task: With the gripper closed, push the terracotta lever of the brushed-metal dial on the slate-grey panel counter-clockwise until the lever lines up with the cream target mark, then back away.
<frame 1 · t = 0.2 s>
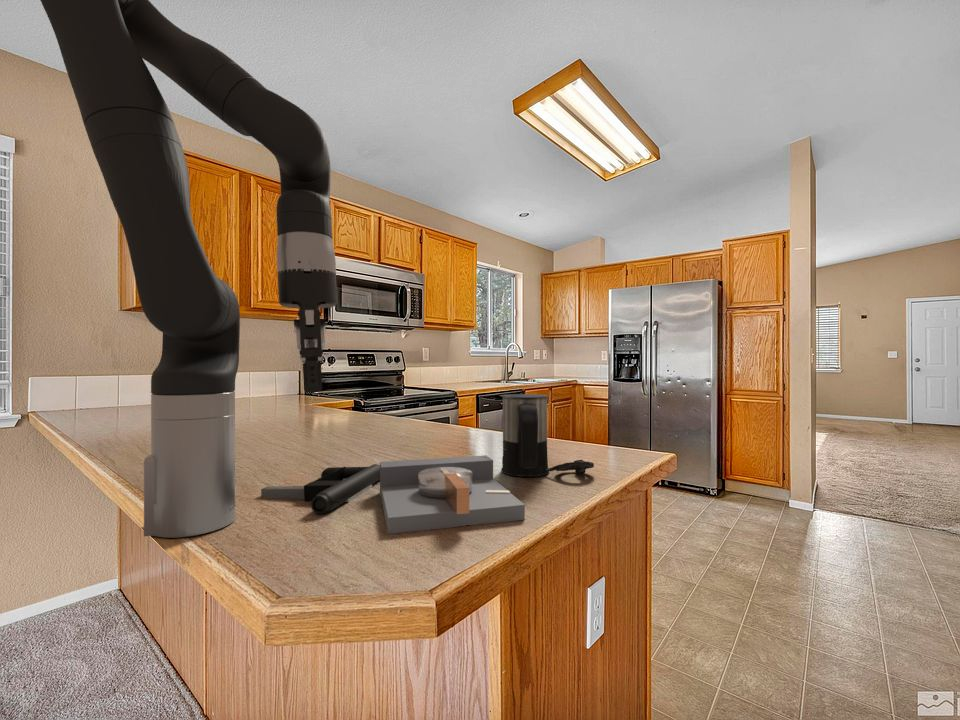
hand: (313, 389, 62), 17 cm above the table, tool pointing down, fingers open, 8 cm apart
door handle: (321, 496, 73), on the table
dial: (450, 484, 63), point 4 cm above the table, hinge at 0.0°
panel: (445, 504, 66), on the table
milk frother: (546, 474, 85), on the table
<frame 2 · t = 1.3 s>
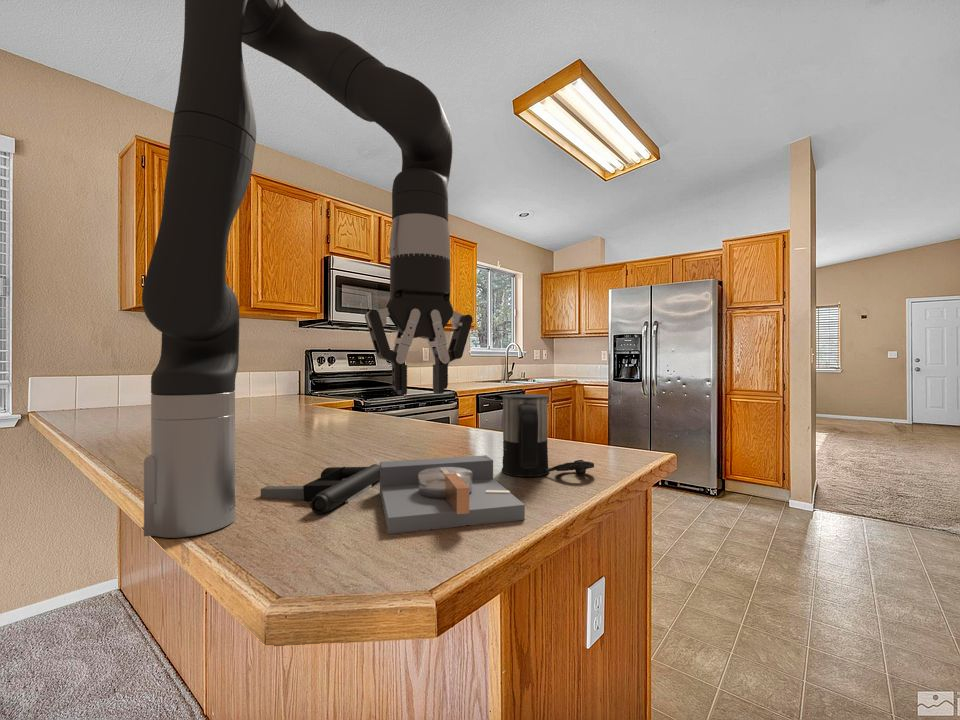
hand: (420, 393, 56), 17 cm above the table, tool pointing down, fingers open, 4 cm apart
nothing on the table moved.
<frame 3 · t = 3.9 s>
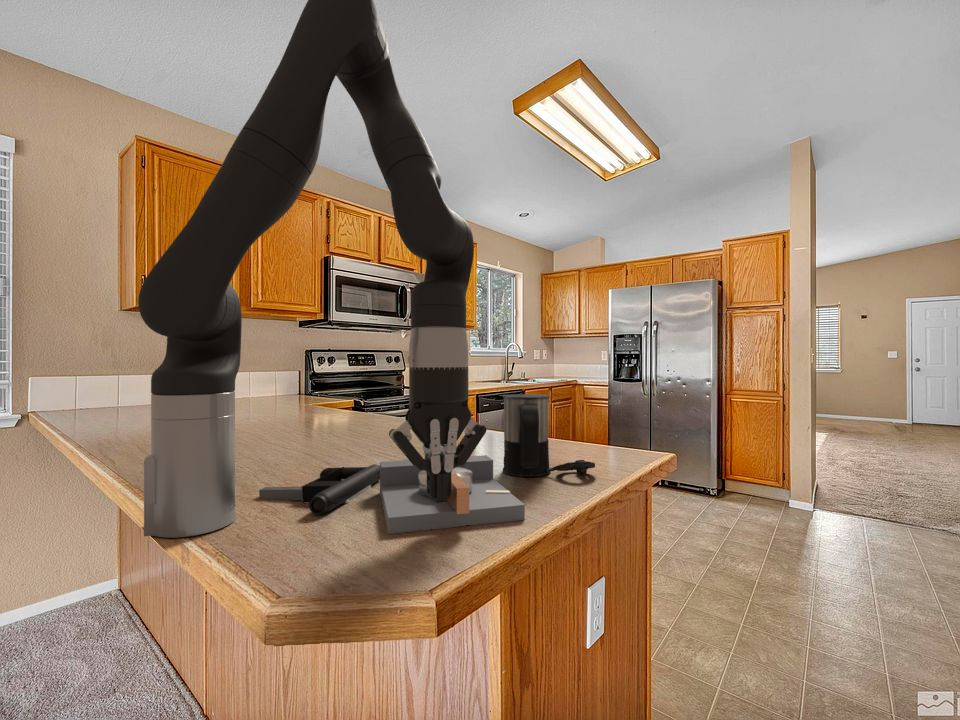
hand: (439, 500, 57), 4 cm above the table, tool pointing down, fingers closed
dial: (450, 484, 63), point 4 cm above the table, hinge at 0.0°, touching gripper
everything else where it was.
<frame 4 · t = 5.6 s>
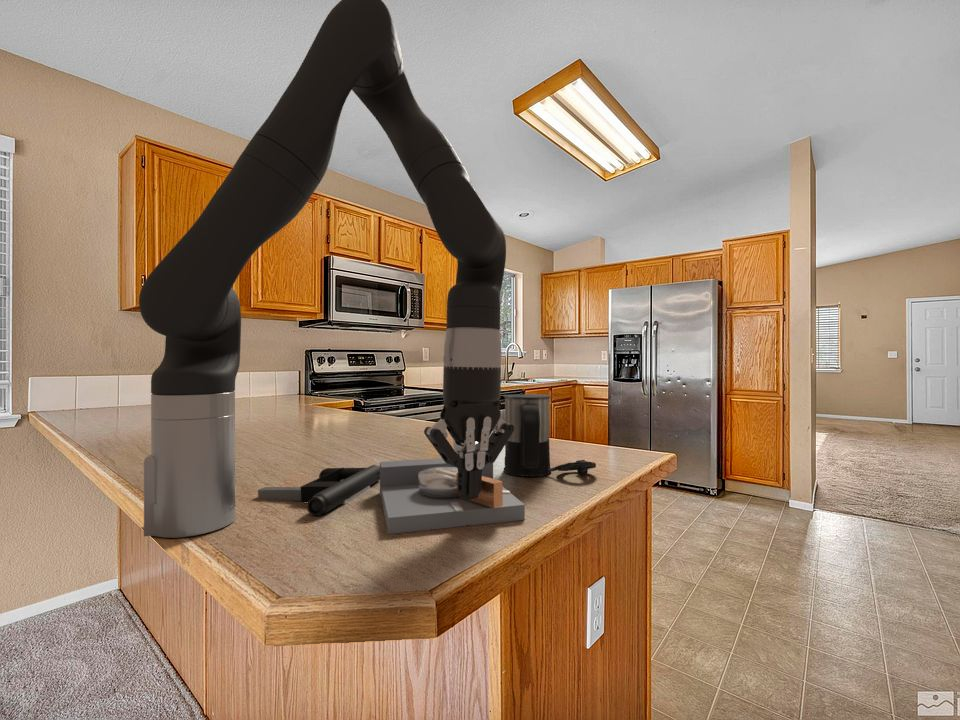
hand: (469, 497, 58), 4 cm above the table, tool pointing down, fingers closed
dial: (460, 483, 64), point 4 cm above the table, hinge at 27.2°, touching gripper
everything else where it was.
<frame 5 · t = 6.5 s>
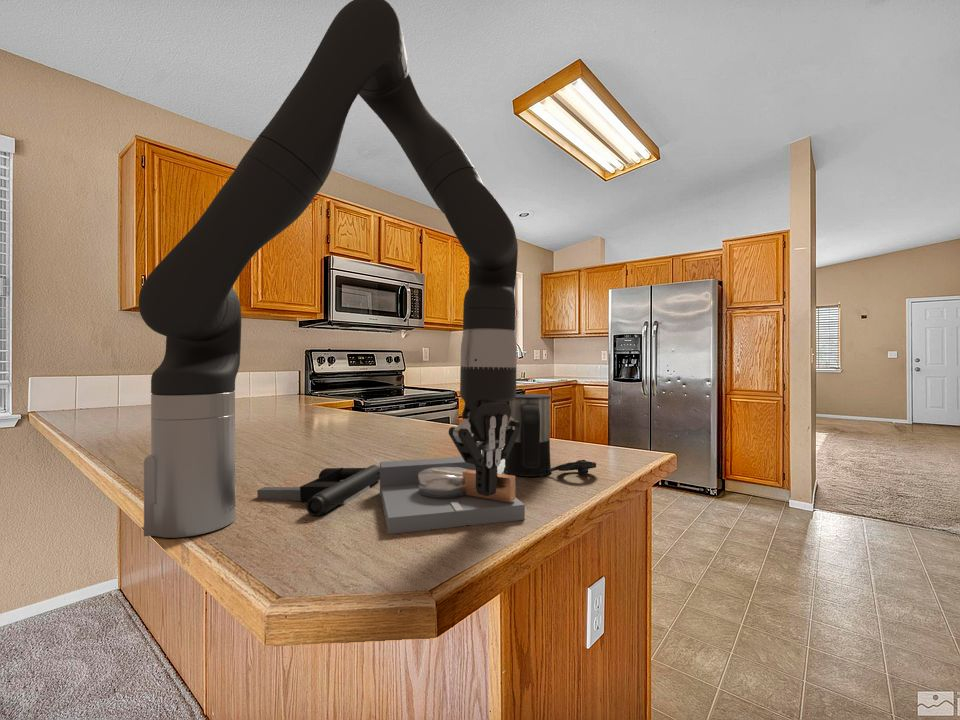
hand: (486, 493, 60), 4 cm above the table, tool pointing down, fingers closed
dial: (465, 481, 65), point 4 cm above the table, hinge at 45.0°, touching gripper
everything else where it was.
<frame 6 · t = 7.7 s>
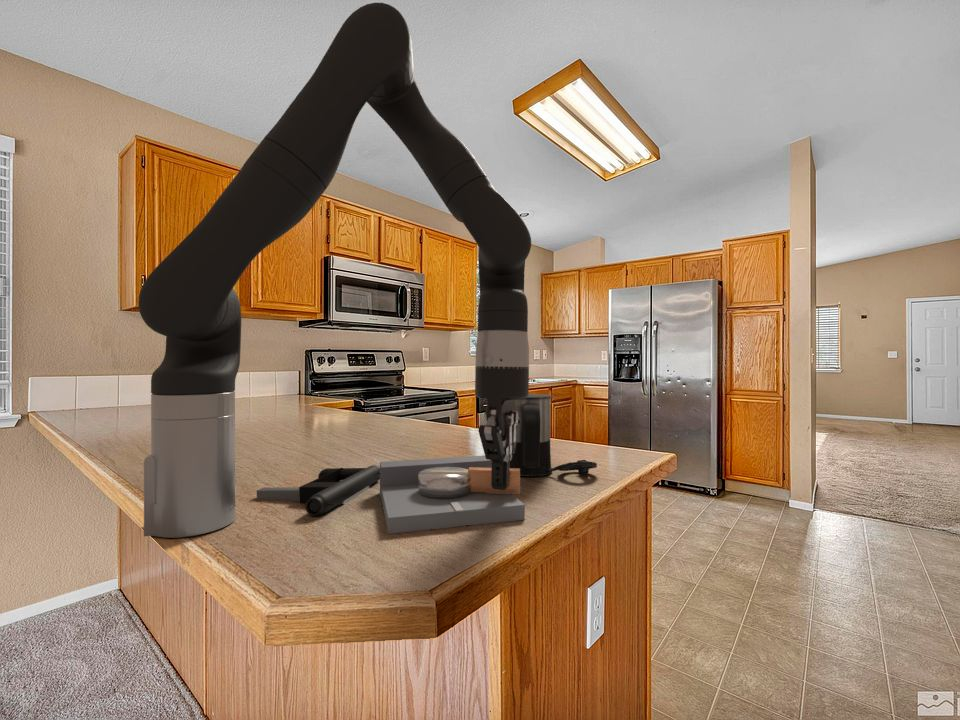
hand: (500, 488, 63), 4 cm above the table, tool pointing down, fingers closed
dial: (468, 479, 66), point 4 cm above the table, hinge at 67.4°, touching gripper
everything else where it was.
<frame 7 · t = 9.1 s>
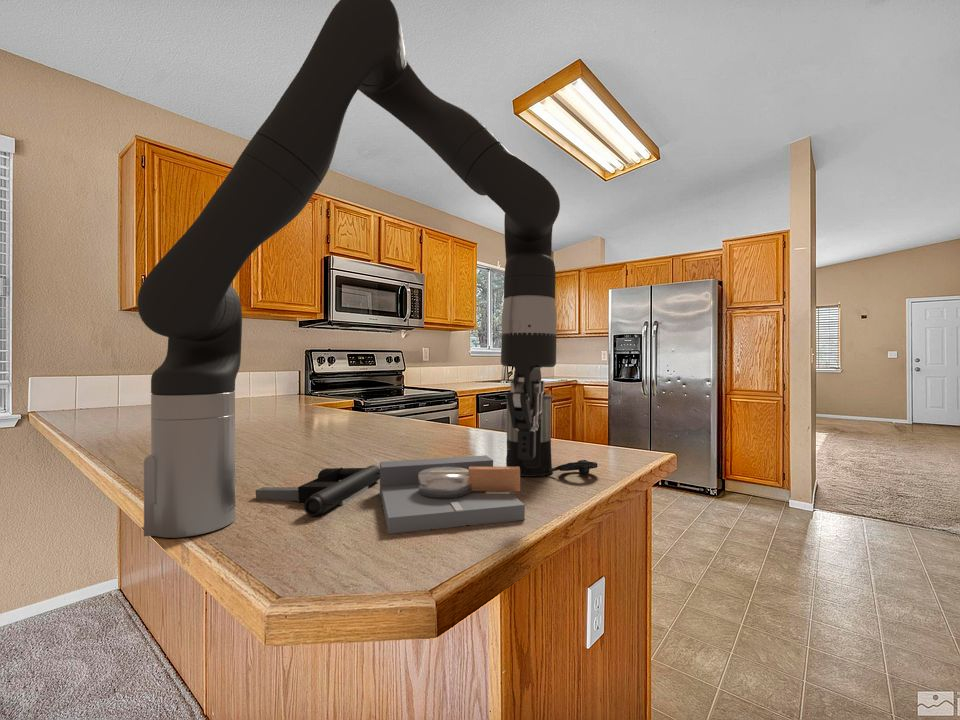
hand: (526, 458, 61), 8 cm above the table, tool pointing down, fingers closed
dial: (469, 478, 66), point 4 cm above the table, hinge at 73.4°
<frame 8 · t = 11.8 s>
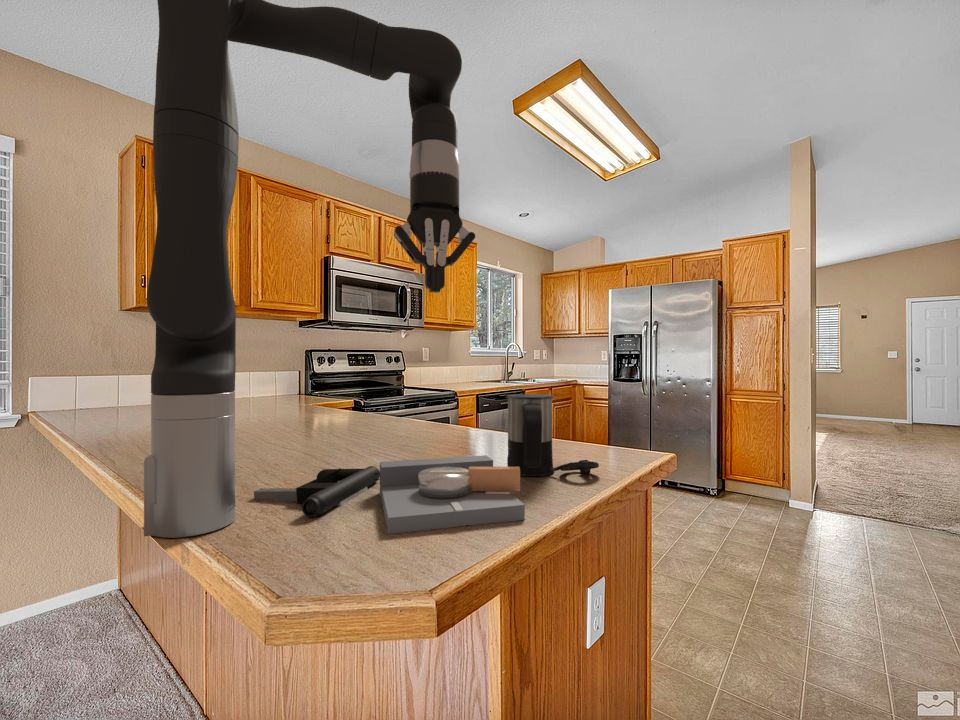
hand: (434, 291, 69), 32 cm above the table, tool pointing down, fingers closed
at the end: dial at +73° (first picture: +0°) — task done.
